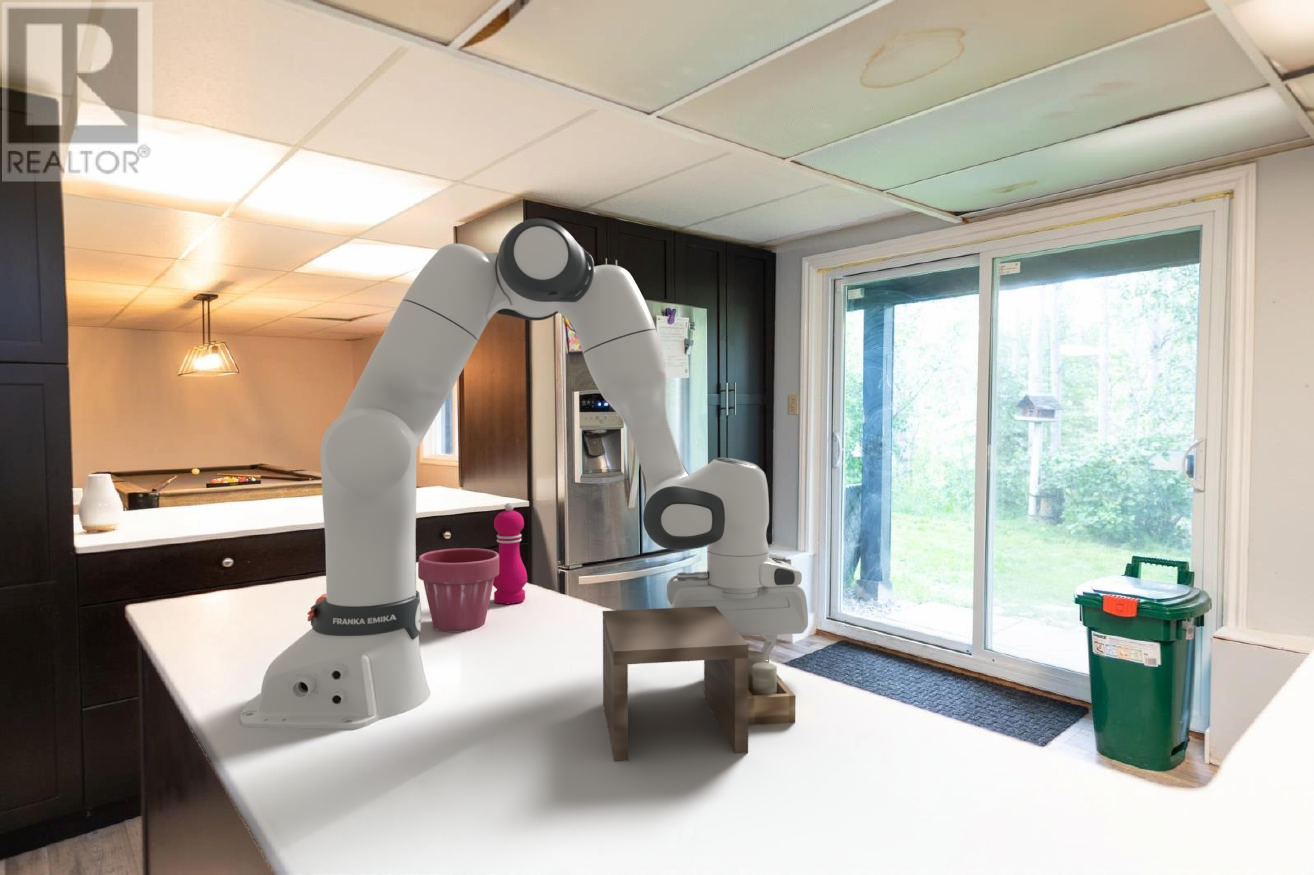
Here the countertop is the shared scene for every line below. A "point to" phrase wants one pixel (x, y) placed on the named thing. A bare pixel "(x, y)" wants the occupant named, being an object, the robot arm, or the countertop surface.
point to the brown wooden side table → (676, 641)
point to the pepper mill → (509, 558)
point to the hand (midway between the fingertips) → (737, 665)
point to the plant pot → (458, 586)
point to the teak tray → (772, 705)
